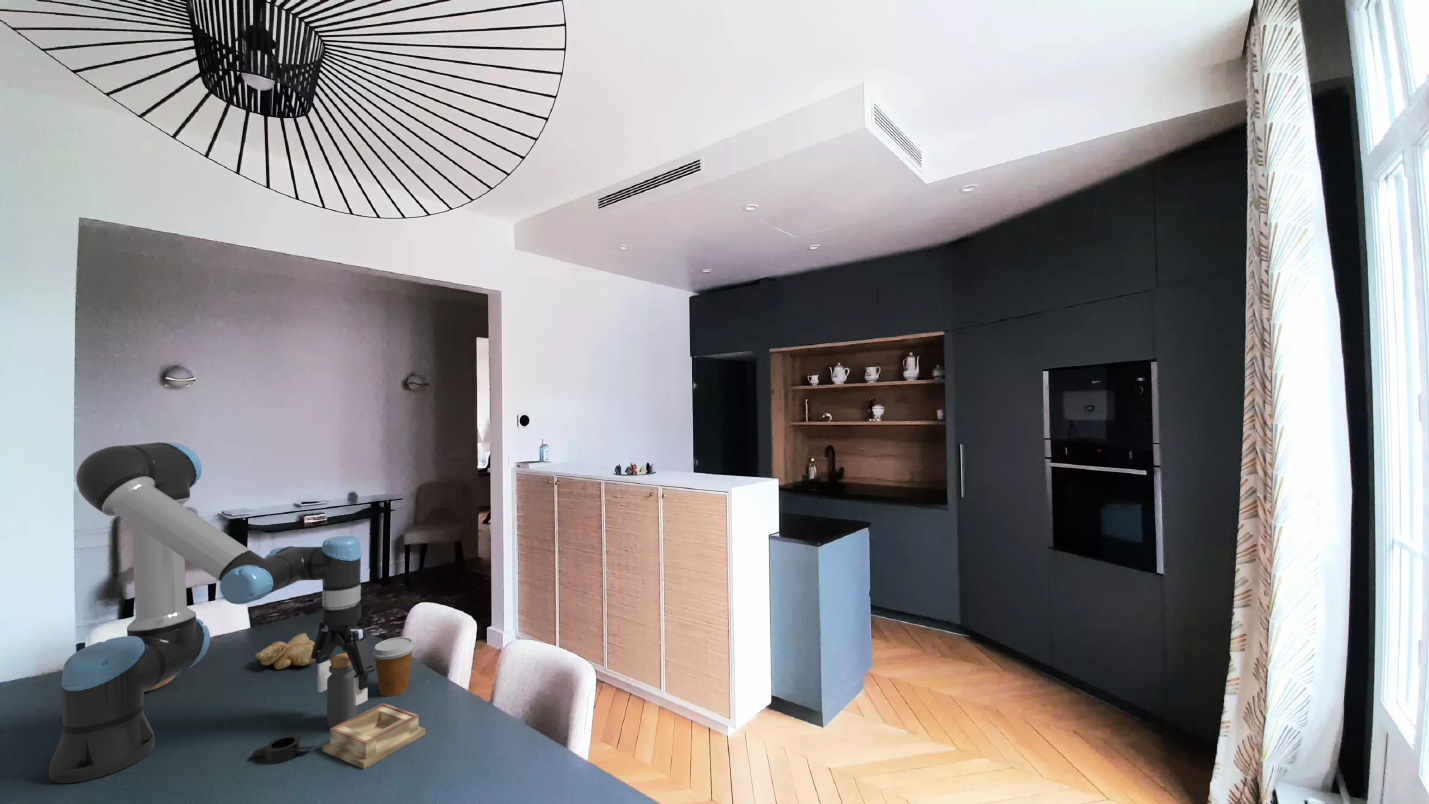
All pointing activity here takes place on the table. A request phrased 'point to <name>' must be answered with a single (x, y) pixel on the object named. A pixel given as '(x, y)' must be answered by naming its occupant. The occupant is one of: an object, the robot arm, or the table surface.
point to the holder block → (373, 735)
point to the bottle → (340, 691)
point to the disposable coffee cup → (393, 664)
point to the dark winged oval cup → (281, 749)
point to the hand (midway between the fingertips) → (342, 696)
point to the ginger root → (288, 652)
